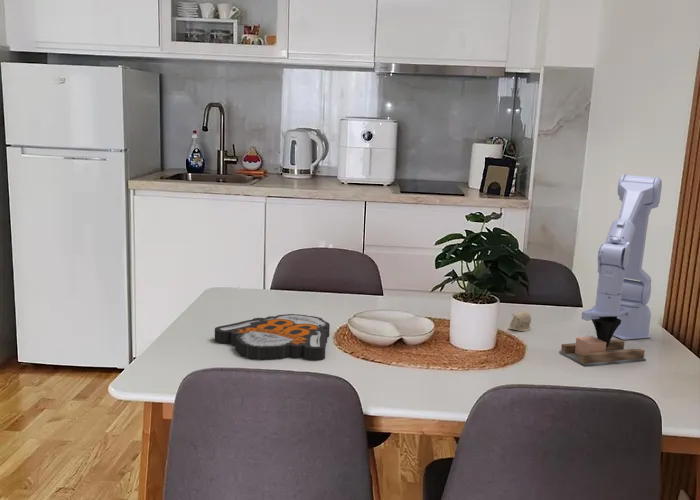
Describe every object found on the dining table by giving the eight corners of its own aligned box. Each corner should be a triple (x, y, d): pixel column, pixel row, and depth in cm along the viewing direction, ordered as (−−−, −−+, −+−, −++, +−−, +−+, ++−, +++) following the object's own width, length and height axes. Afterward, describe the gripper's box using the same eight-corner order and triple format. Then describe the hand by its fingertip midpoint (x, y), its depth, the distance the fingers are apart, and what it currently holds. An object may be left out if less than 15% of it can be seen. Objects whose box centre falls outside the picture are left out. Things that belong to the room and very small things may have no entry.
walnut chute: (617, 348, 183) (618, 338, 183) (645, 360, 174) (646, 351, 174) (559, 352, 177) (560, 343, 177) (584, 366, 168) (586, 356, 167)
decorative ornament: (534, 329, 197) (536, 310, 196) (514, 333, 192) (516, 314, 191) (523, 325, 200) (525, 307, 199) (503, 329, 195) (504, 311, 194)
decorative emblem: (305, 372, 157) (361, 337, 184) (306, 357, 156) (361, 324, 183) (196, 349, 169) (263, 319, 196) (196, 335, 168) (264, 307, 195)
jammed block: (591, 351, 177) (592, 336, 177) (604, 358, 173) (606, 342, 172) (574, 353, 176) (576, 337, 175) (587, 359, 171) (589, 343, 170)
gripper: (618, 286, 179) (612, 338, 182) (574, 290, 173) (569, 343, 175) (640, 293, 173) (634, 346, 176) (596, 297, 167) (590, 352, 169)
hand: (603, 345), depth 175 cm, fingers closed
